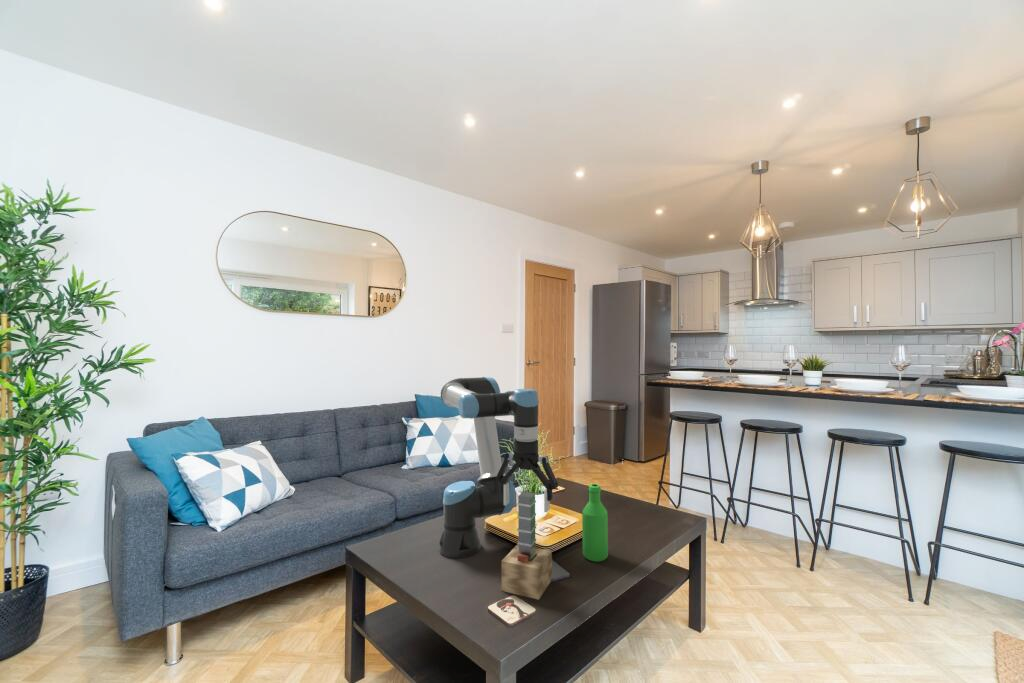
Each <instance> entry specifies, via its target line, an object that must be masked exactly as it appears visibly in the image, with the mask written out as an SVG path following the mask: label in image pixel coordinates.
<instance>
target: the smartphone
mask: <svg viewBox="0 0 1024 683" xmlns="http://www.w3.org/2000/svg"><path fill="white" fill-rule="evenodd" d="M570 577H571V574H570V572H568V571H567V570H566V569H564V568H563V567H562V566H561V565H559V564H558V563H557V562H556V561H554V560H553V559H552V579H551V582H550V583H554V582H557V581H560V580H565V579H567V578H570Z"/></svg>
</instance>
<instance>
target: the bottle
mask: <svg viewBox="0 0 1024 683" xmlns="http://www.w3.org/2000/svg"><path fill="white" fill-rule="evenodd" d="M588 491H589V494H588V495H589V497H588V499H589V500H588V501H587V503H586V505H585V506H584V507H583V508H582V510H581V511H582V513H581V517H582V518H581V520H582V521H581V522H582V523H581V524H582V530H581V531H582V555H583V557H584V558H586V560H588V561H591V562H603V561H605V560H606V559H607V558H608V557H609V537H608V536H609V535H608V534H609V526H608V525H609V523H608V521H609V520H608V519H609V517H608V513H609V512H608V510H607V508H606V507H605V506H604V505H603V503H602V501H601V491H602V489H601V486H600V485H599V484H597V483H591V484H590V485H588Z"/></svg>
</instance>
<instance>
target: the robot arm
mask: <svg viewBox="0 0 1024 683" xmlns="http://www.w3.org/2000/svg"><path fill="white" fill-rule="evenodd" d="M498 383H499V382H497V380H496V379H495V378H494V377H489V376H488V377H487V376H486V377H485V376H482V377H459V378H455V379H452V380H450V381H448V382H446V383H445V384H444V385H443V386H442V388H441V390H440V398H441V399H440V400H441V401H442V403H443V404H444V405H446V406H448V407H450V408H456V409H458V413H459V416H460V418H462V419H471V420H472V419H473V422H474V432H475V437H476V446H477V454H478V462H479V472H480V473H479V474H480V476H479V477H478V478H477V484H476V483H475V482H474V481H472V480H460V481H456V482H453V483H451V484H449V485H448V486H447V487H445V489H444V491H443V499H442V503H443V530H442V532H441V535H440V539H439V543H438V552H439V553H440V554H441V555H442V556H444V557H447V558H452V559H460V558H461V559H463V558H467V557H470V556H474V555H475V554H477V553H478V552H479V551H481V539H480V537H479V536H480V535H479V533H478V532H479V531H478V530H477V529H478V528H477V527H476V526H477V525H476V519H482V518H487V517H494V516H502V515H504V514H510V513H511V512H512V511H513V508H514V506H515V503H516V502H515V501H516V488H515V485H514V482H513V481H512V480H509V479H510V478H511V477H512V476H513V475H514V473H515V472H516V471H517V470H518V469H520V470H526V471H532V472H533V473H534V474H535V475H536V476H537V478H538V479H539V481H540V483H542V485H543V486H544V488H545V489H544V491H543V492H544V494H543V496H544V497H543V498H544V500H543V501H544V502H543V505H544V506H543V508H544V509H543V510H544V513H548V512H549V511H550V509H551V507H550V506H551V505H550V502H551V501H552V500H553V491H554V490H556V489H557V488H558V487H559V483H558V481H557V478H556V475H555V474H554V471H553V469H552V467H551V465H550V463H549V462H550V460H549V456H548V455H545V456H540V455H539V396H538V395H539V394H538V393H539V392H538V390H536V389H534V388H533V389H532V388H518V389H515V390H508V391H505V392H501V389H500V386H499V384H498ZM507 416H513V431H514V432H513V438H514V440H513V452H514V453H512V452H511V451H508V452H506V453H505V454H504V456H503V457H504V459H503V462H502V458H501V451H500V450H501V449H500V444H499V443H500V442H499V436H498V430H497V423H496V422H497V421H496V417H507ZM512 459H513V460H514V464H513V465H512V467H511V468H509V469H510V470H508V471H507V468H508V466H509V464H510V462H511V460H512ZM539 462H540V464H541V465H542V468H543V470H544V471H543V470H542V469H541V466H540V465H539V464H538V463H539ZM506 471H507V473H505V472H506ZM544 472H545V473H544Z"/></svg>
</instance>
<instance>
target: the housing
mask: <svg viewBox="0 0 1024 683" xmlns="http://www.w3.org/2000/svg"><path fill="white" fill-rule="evenodd" d="M535 551H536V557H535V558H534V559H533V560H532V561H528V555H523V554H519V544H516V545H515V546H514V547H513V548H512V549H511V550H510V552H509V553H507V555H506V556H504V558H503V559H502V560H501V561H500V562H501V563H500V564H501V566H500V567H501V592H505V593H508V594H514V595H518V596H522V597H525V598H531V599H534V600H538V601H539V600H540V599H541V597H542V595H543V594H544V592H545V591H546V589H547V588H548V587H549V585H550V583H552V582H551V579H552V560H553V551H552V550H547V549H542V548H538V547H535ZM518 554H519V555H518Z"/></svg>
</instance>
